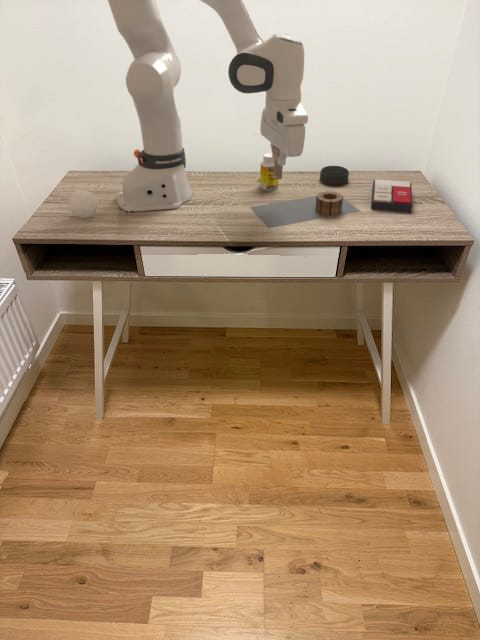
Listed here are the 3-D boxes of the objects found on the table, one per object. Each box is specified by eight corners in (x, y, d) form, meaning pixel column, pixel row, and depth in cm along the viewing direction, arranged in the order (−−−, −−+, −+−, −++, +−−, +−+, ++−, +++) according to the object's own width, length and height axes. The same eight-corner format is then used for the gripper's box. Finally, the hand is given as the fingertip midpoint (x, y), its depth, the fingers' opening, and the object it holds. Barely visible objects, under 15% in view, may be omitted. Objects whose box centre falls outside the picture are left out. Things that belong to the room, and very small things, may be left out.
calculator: (372, 199, 135) (373, 177, 146) (370, 213, 138) (371, 190, 149) (413, 202, 133) (411, 179, 144) (410, 216, 136) (409, 193, 147)
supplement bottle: (267, 192, 148) (267, 159, 142) (256, 186, 152) (257, 154, 146) (281, 188, 150) (283, 155, 144) (271, 182, 154) (272, 150, 148)
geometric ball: (95, 225, 138) (103, 208, 132) (66, 222, 134) (73, 204, 128) (91, 204, 141) (99, 186, 135) (63, 200, 136) (70, 181, 130)
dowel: (275, 179, 133) (277, 142, 127) (271, 176, 134) (274, 140, 128) (283, 178, 133) (286, 142, 127) (279, 175, 135) (282, 139, 129)
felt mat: (268, 229, 129) (268, 227, 128) (249, 208, 139) (249, 207, 139) (360, 212, 136) (360, 211, 136) (336, 193, 147) (336, 192, 146)
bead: (323, 217, 133) (324, 203, 131) (311, 207, 138) (312, 193, 136) (345, 212, 135) (347, 199, 133) (333, 203, 140) (334, 190, 138)
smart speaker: (331, 189, 150) (332, 177, 147) (313, 180, 156) (314, 168, 153) (353, 183, 153) (355, 171, 151) (335, 175, 159) (336, 163, 157)
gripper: (256, 99, 129) (253, 150, 138) (287, 120, 114) (282, 177, 123) (277, 97, 131) (274, 148, 140) (311, 118, 116) (305, 174, 125)
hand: (278, 162), depth 131 cm, fingers closed on dowel, 2 cm apart
